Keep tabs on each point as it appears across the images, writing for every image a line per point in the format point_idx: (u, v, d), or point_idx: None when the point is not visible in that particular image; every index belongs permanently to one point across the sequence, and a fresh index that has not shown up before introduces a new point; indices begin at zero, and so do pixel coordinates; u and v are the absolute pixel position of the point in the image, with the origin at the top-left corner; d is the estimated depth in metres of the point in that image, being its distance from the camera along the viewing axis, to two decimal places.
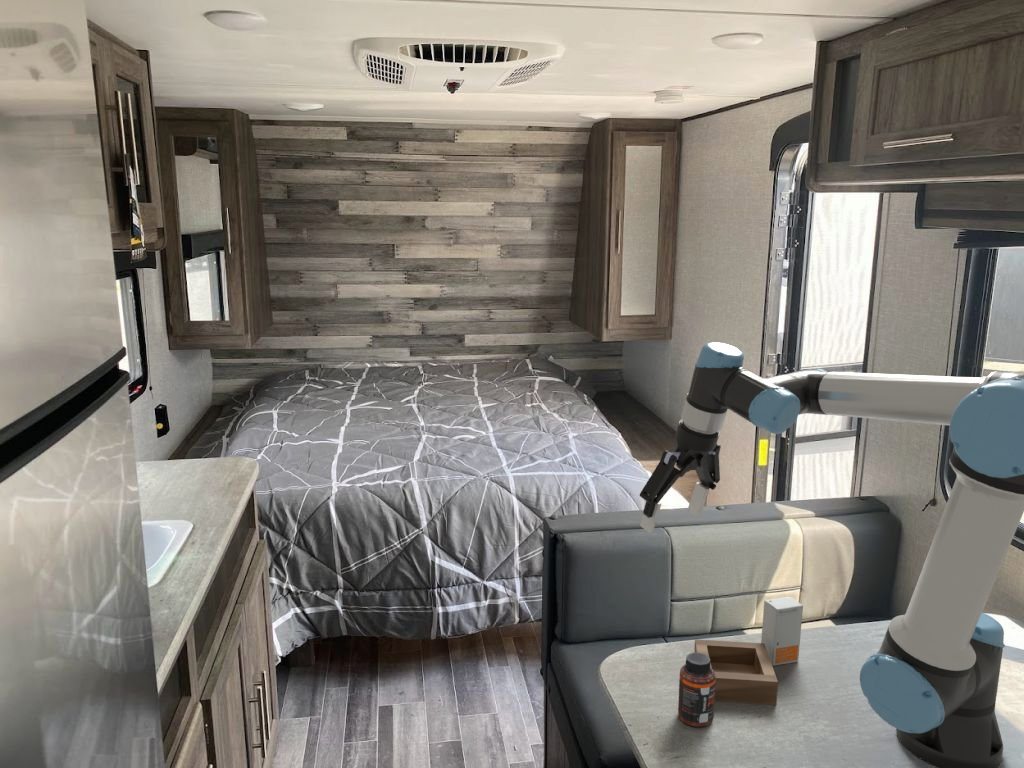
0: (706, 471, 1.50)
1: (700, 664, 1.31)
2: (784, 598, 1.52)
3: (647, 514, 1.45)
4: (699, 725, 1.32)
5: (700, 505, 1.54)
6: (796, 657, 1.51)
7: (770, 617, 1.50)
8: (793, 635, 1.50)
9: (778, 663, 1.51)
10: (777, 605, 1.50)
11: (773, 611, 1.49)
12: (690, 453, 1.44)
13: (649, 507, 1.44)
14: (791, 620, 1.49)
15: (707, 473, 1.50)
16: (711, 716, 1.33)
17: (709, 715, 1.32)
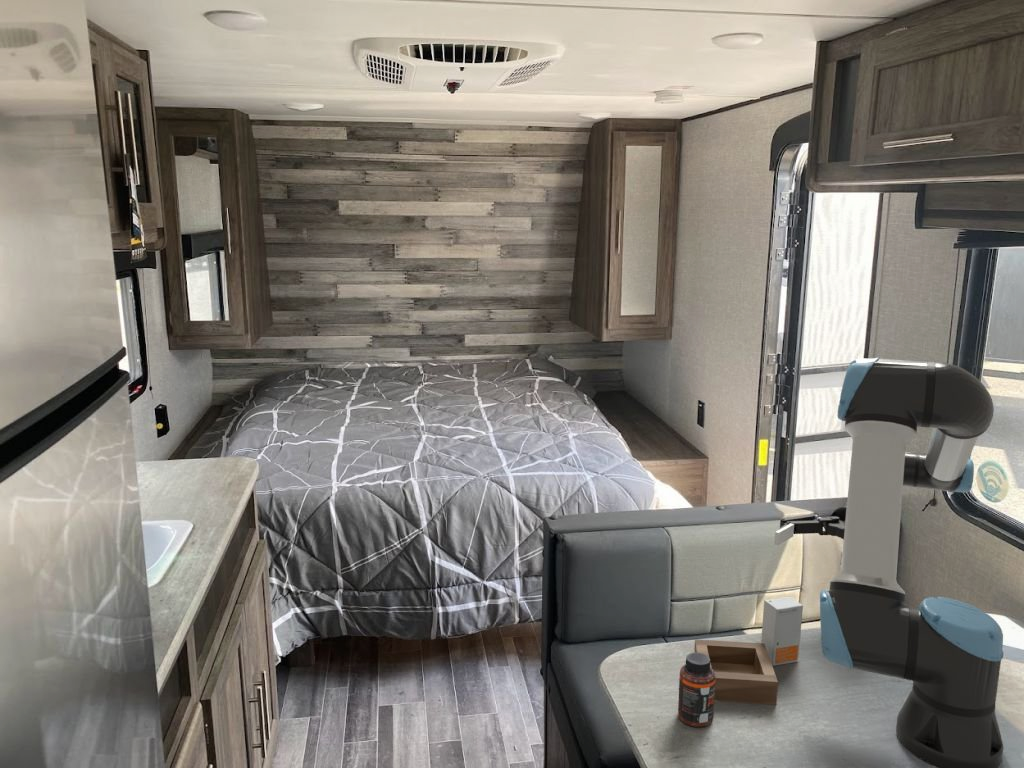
0: None
1: (700, 664, 1.31)
2: (784, 598, 1.52)
3: None
4: (699, 725, 1.32)
5: None
6: (796, 657, 1.51)
7: (770, 617, 1.50)
8: (793, 635, 1.50)
9: (778, 663, 1.51)
10: (777, 605, 1.50)
11: (772, 611, 1.49)
12: None
13: None
14: (790, 620, 1.49)
15: None
16: (711, 716, 1.33)
17: (709, 715, 1.32)
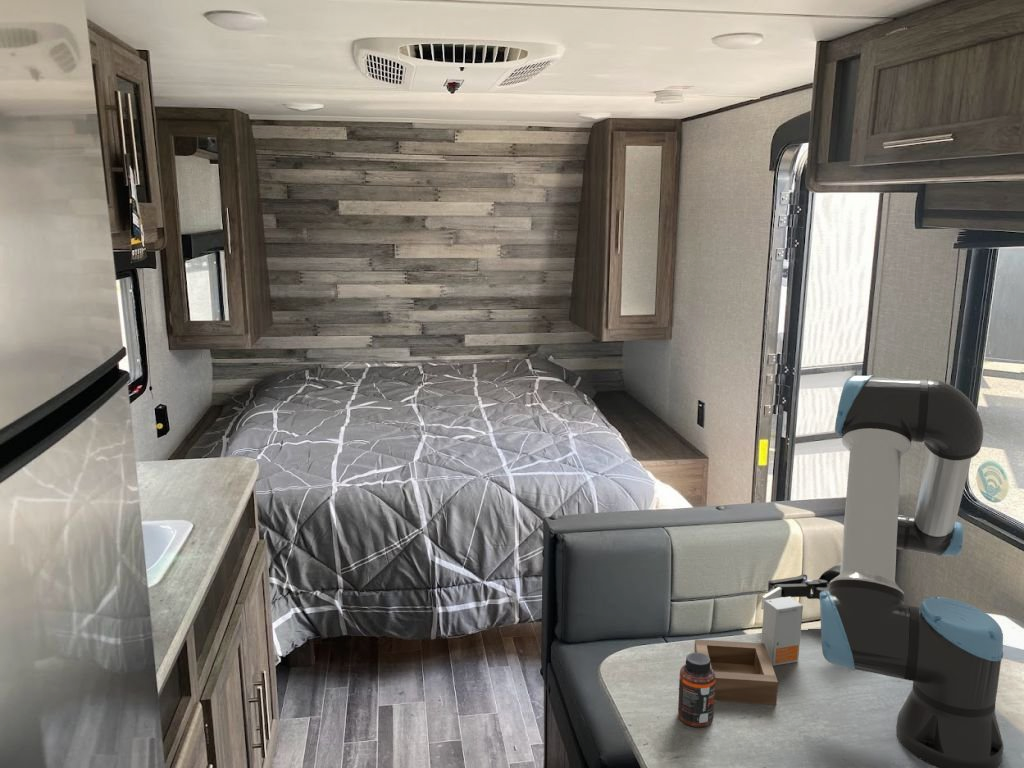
0: None
1: (700, 664, 1.31)
2: (784, 598, 1.52)
3: None
4: (699, 725, 1.32)
5: None
6: (796, 657, 1.51)
7: (770, 617, 1.50)
8: (793, 635, 1.50)
9: (778, 663, 1.51)
10: (777, 605, 1.50)
11: (773, 611, 1.49)
12: None
13: None
14: (791, 620, 1.49)
15: None
16: (711, 716, 1.33)
17: (709, 715, 1.32)
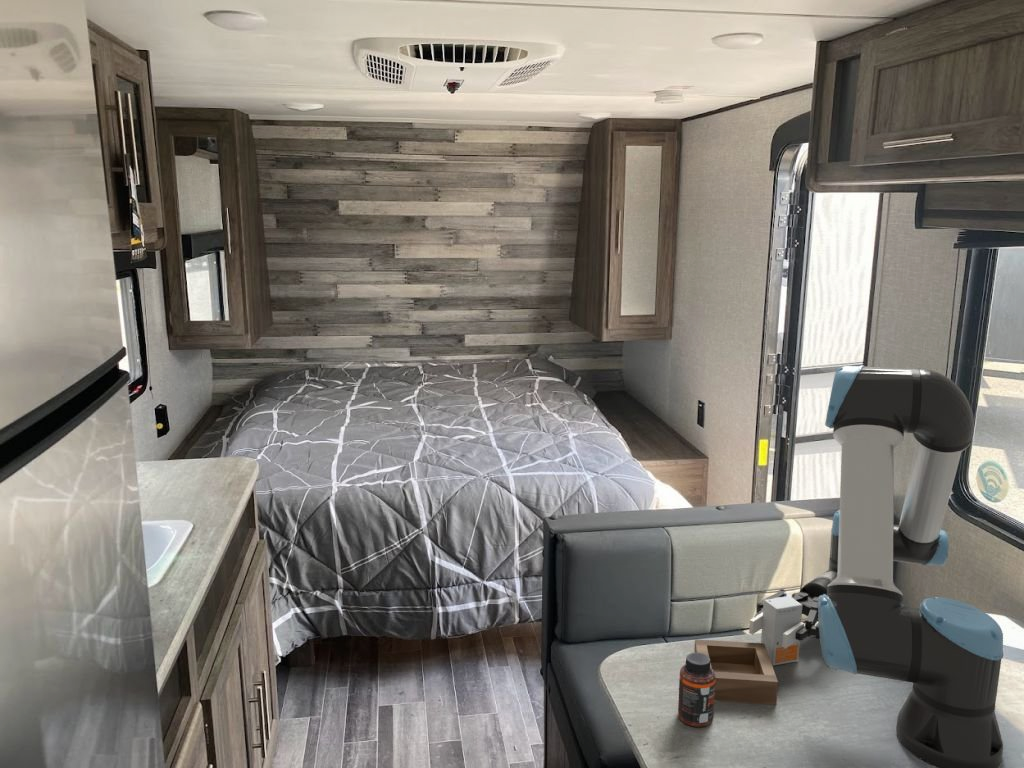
0: (813, 613, 1.54)
1: (700, 664, 1.31)
2: (783, 598, 1.52)
3: None
4: (699, 725, 1.32)
5: None
6: (796, 657, 1.51)
7: (769, 616, 1.50)
8: None
9: (778, 663, 1.51)
10: (776, 604, 1.50)
11: (772, 610, 1.49)
12: None
13: None
14: (790, 620, 1.49)
15: (813, 614, 1.53)
16: (711, 716, 1.33)
17: (709, 715, 1.32)
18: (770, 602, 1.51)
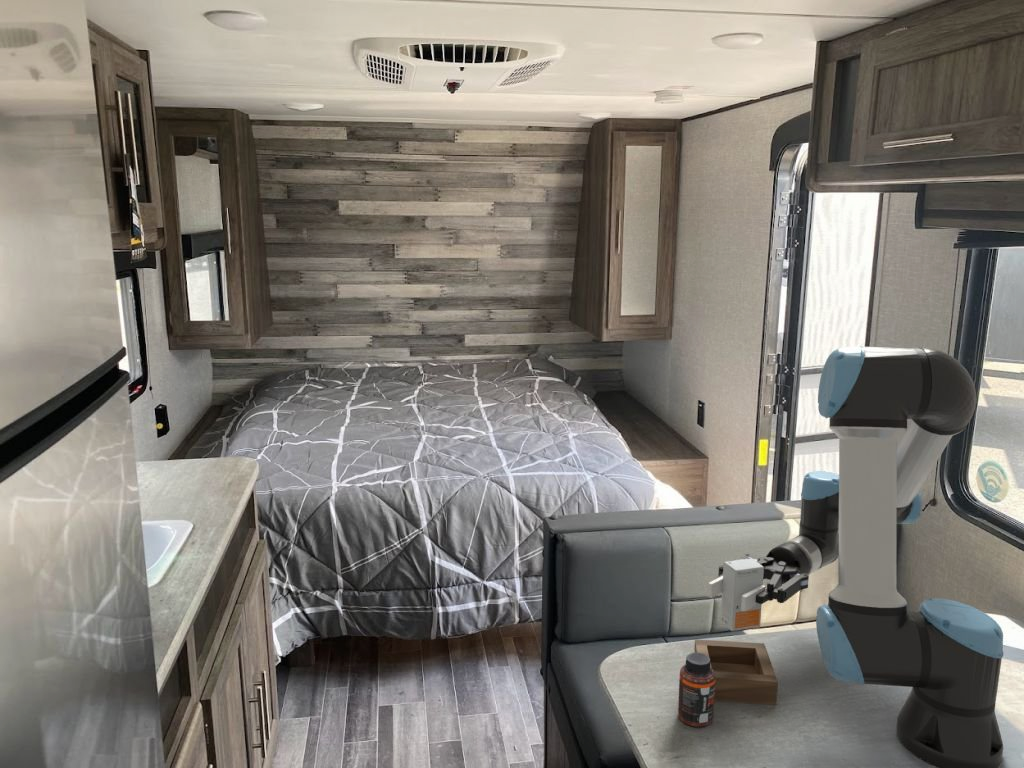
0: (777, 576, 1.45)
1: (700, 664, 1.31)
2: (745, 560, 1.44)
3: None
4: (699, 725, 1.32)
5: None
6: (758, 622, 1.43)
7: (729, 579, 1.42)
8: None
9: (738, 628, 1.43)
10: (736, 566, 1.42)
11: (731, 572, 1.41)
12: None
13: None
14: (751, 582, 1.41)
15: (776, 578, 1.45)
16: (711, 716, 1.33)
17: (709, 715, 1.32)
18: (730, 564, 1.43)
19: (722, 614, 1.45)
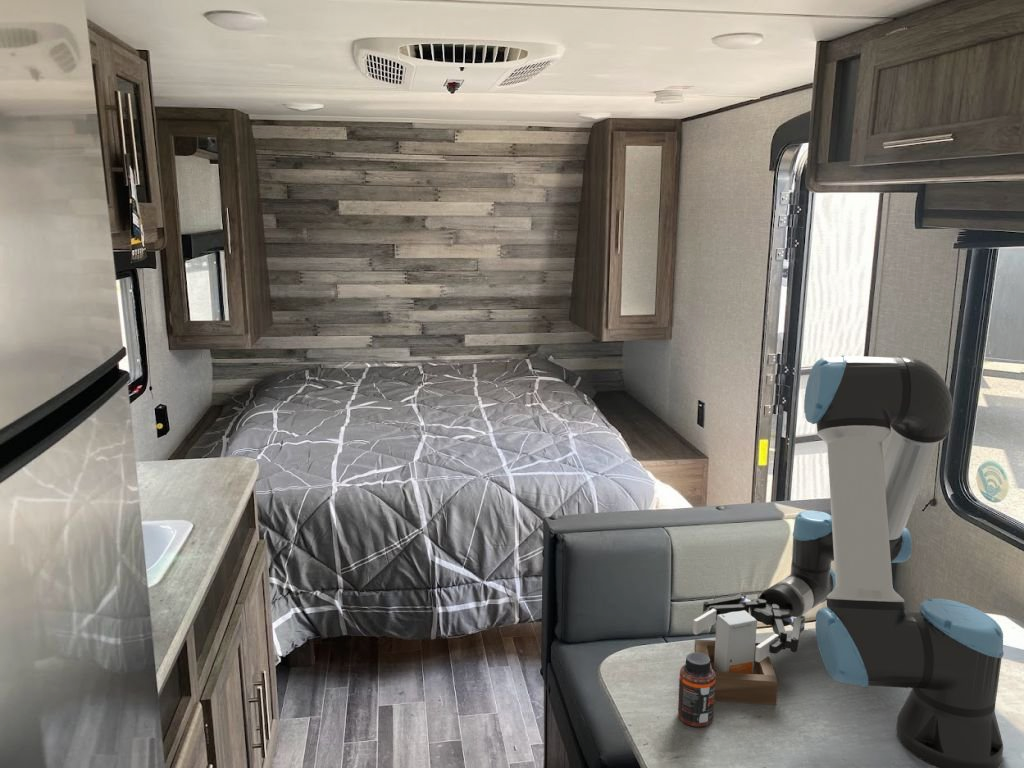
0: (780, 622, 1.45)
1: (700, 664, 1.31)
2: (738, 612, 1.45)
3: None
4: (699, 725, 1.32)
5: None
6: None
7: (723, 632, 1.42)
8: (746, 651, 1.43)
9: None
10: (730, 620, 1.42)
11: (725, 626, 1.41)
12: None
13: None
14: (744, 636, 1.42)
15: (781, 624, 1.44)
16: (711, 716, 1.33)
17: (709, 715, 1.32)
18: (724, 617, 1.43)
19: (715, 666, 1.46)
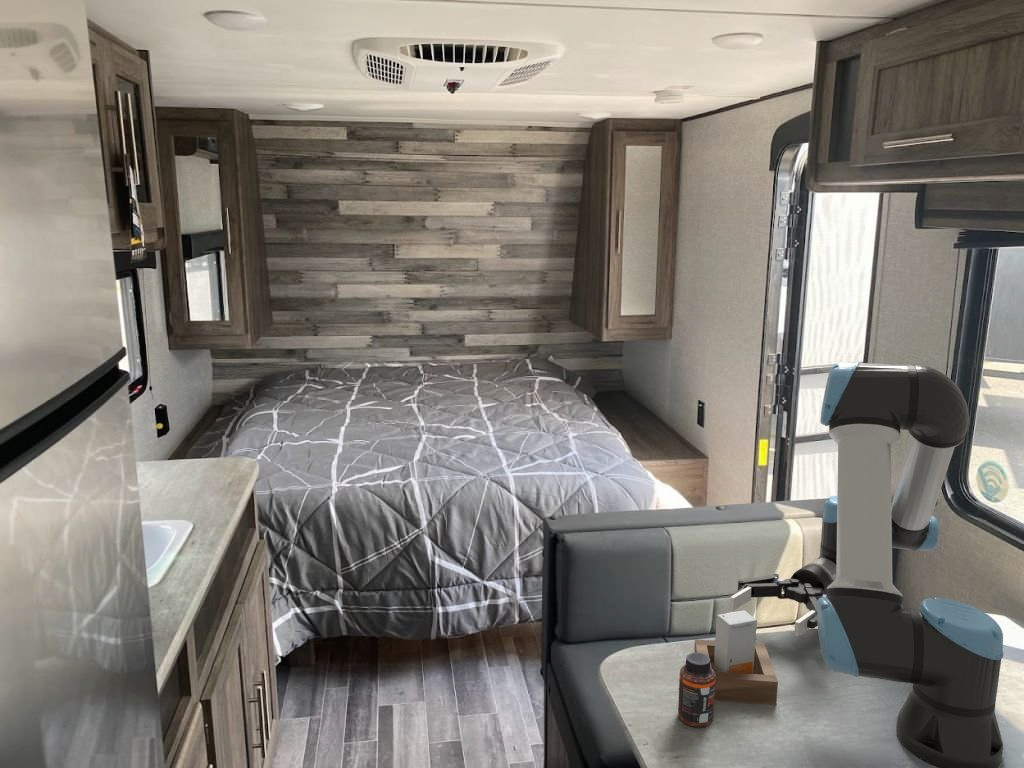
0: (814, 600, 1.54)
1: (700, 664, 1.31)
2: (738, 612, 1.45)
3: None
4: (699, 725, 1.32)
5: None
6: None
7: (723, 632, 1.42)
8: (746, 651, 1.43)
9: None
10: (730, 620, 1.42)
11: (725, 626, 1.41)
12: None
13: None
14: (744, 636, 1.42)
15: (815, 601, 1.53)
16: (711, 716, 1.33)
17: (709, 715, 1.32)
18: (723, 617, 1.43)
19: (715, 666, 1.46)
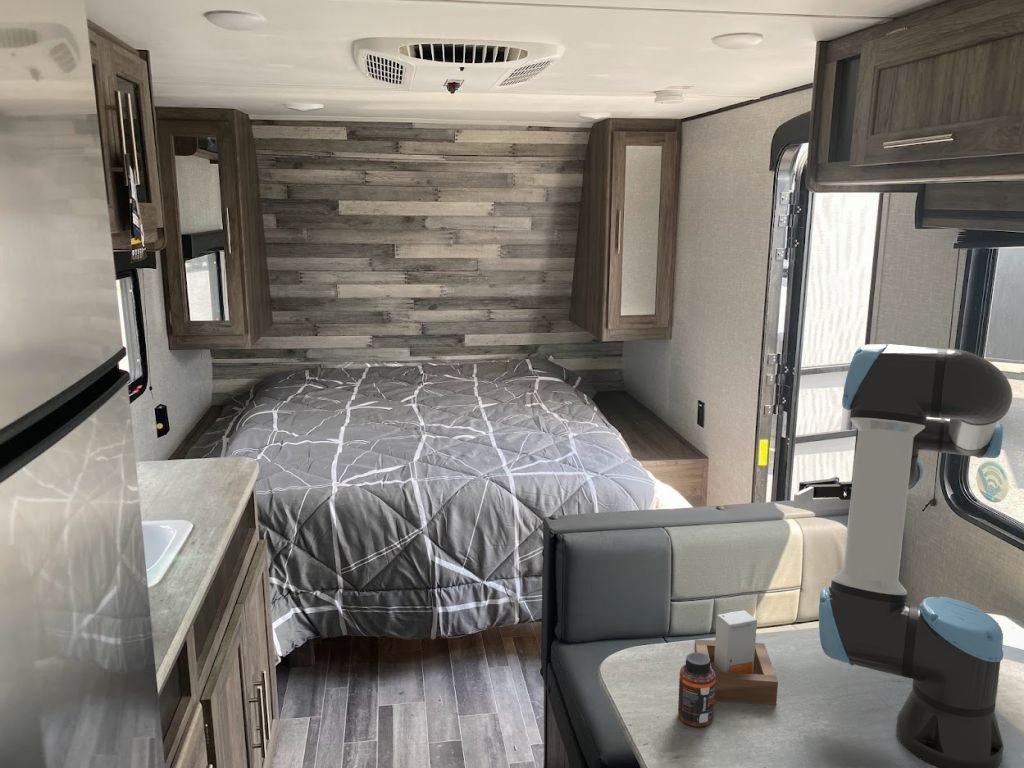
0: None
1: (700, 664, 1.31)
2: (738, 612, 1.45)
3: None
4: (699, 725, 1.32)
5: None
6: None
7: (723, 632, 1.42)
8: (746, 651, 1.43)
9: None
10: (730, 620, 1.42)
11: (725, 626, 1.41)
12: None
13: None
14: (744, 636, 1.42)
15: None
16: (711, 716, 1.33)
17: (709, 715, 1.32)
18: (723, 617, 1.43)
19: (715, 666, 1.46)
